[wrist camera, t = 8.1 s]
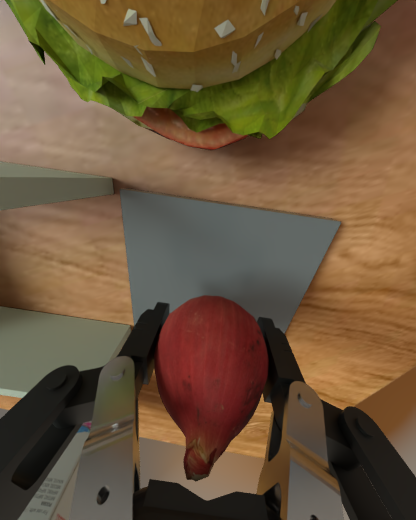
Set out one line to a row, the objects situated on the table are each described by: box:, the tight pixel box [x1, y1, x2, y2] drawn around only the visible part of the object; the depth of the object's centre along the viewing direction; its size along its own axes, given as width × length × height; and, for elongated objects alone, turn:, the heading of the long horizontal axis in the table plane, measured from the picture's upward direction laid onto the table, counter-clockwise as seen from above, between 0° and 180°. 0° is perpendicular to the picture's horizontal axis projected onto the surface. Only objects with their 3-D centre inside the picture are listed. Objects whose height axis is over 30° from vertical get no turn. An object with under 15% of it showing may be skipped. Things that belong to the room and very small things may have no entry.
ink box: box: [18, 421, 92, 520], centre depth 17 cm, size 9×5×12 cm, turn 164°
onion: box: [154, 295, 269, 481], centre depth 9 cm, size 6×6×8 cm
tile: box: [120, 188, 341, 334], centre depth 14 cm, size 14×14×1 cm
